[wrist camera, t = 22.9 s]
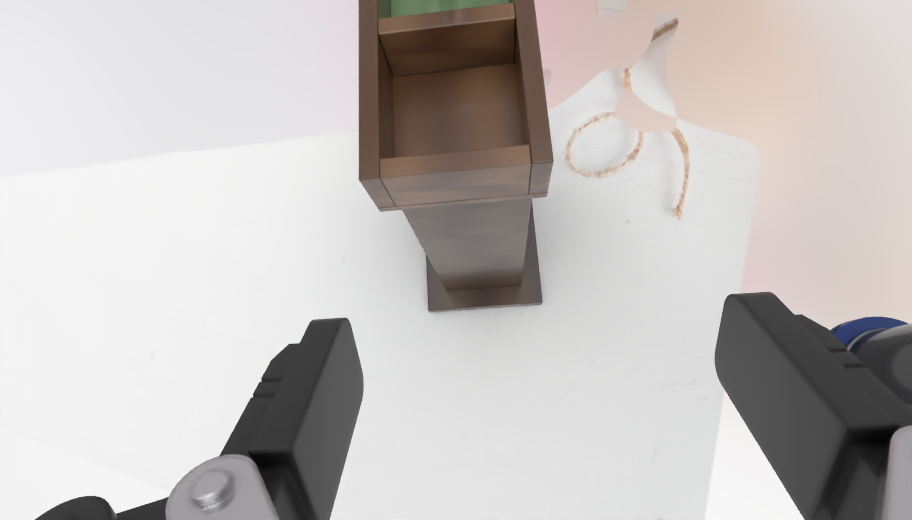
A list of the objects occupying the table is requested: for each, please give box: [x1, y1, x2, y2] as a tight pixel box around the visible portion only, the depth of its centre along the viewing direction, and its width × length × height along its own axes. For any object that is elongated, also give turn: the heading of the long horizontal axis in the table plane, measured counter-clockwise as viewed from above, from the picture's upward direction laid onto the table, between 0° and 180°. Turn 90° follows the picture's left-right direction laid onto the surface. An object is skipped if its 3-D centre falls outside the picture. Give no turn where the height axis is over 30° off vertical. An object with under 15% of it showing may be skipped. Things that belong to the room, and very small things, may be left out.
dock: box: [359, 0, 553, 212], centre depth 27 cm, size 9×17×4 cm, turn 3°
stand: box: [403, 198, 542, 312], centre depth 43 cm, size 12×18×28 cm, turn 3°
